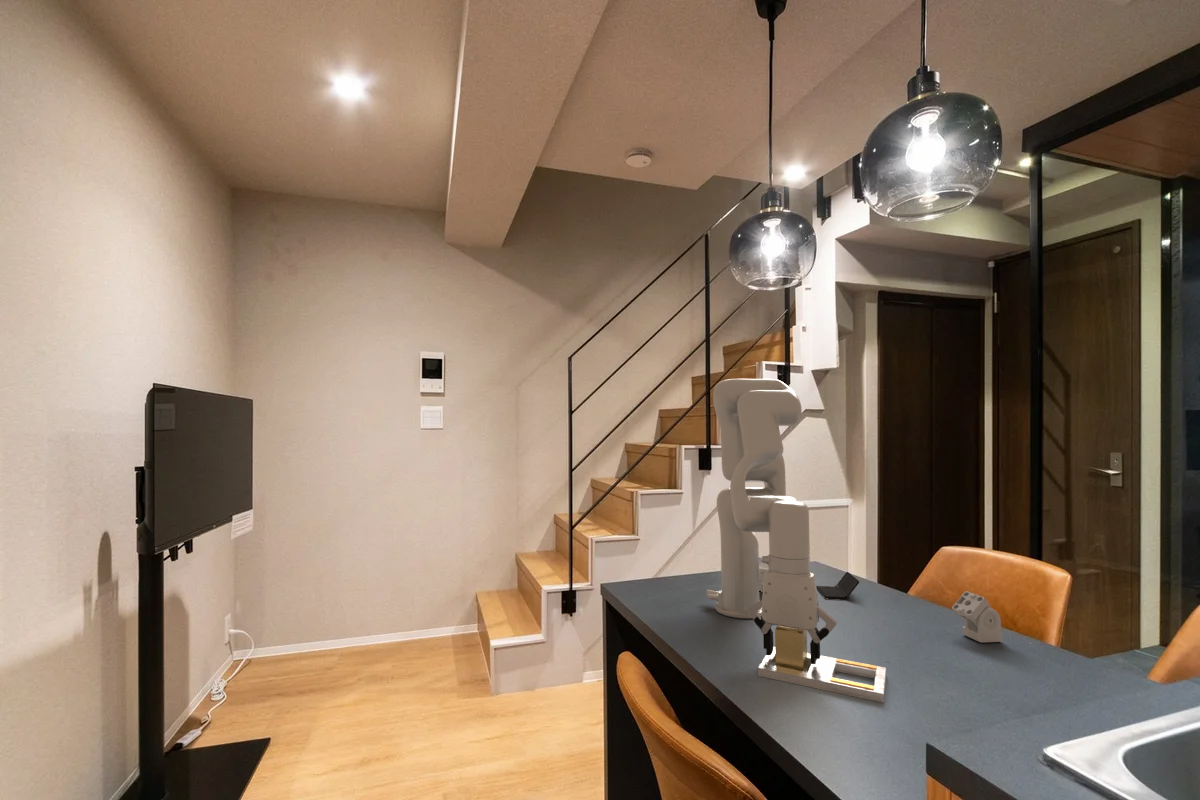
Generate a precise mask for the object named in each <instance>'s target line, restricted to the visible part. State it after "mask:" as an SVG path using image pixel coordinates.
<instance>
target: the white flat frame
mask: <svg viewBox="0 0 1200 800" xmlns="http://www.w3.org/2000/svg"><path fill="white" fill-rule="evenodd" d="M807 667H809V669H808V671H806V672H804V671H799V670H794V669H789V668H784V667H779V666H776V657H775V646H773V652H772V654H771V655H770V656H768V655H766V654H765V655H764V658H763V659H762V661H761V663H760V664H759V665H758V667H757V676H758V677H761V678H766V679H772V680H776V681H780V682H785V683H791V684H795V685H799V686H803V687H808V688H813V689H818V690H822V691H827V692H832V693H837V694H840V695H846V696H850V697H853V698H854V697H855V698H859V699H864V700H869V701H873V702H876V703H883V704H884V702H885V695H886V694H885V692H886V681H887V668H886V667H884V666H878V665H873V664H868V663H863V662H858V661H853V660H849V659H848V660H847V659H842V658H836V657H832V656H826V655H821V654H820V659H817V661H816V663H815V665H814V664H812V663H811V656H810V653H809V652H807ZM836 672H840V673H843V674H849V675H853V676H860V677H864V678H869V679H874V685H873V684H872V685H871V684H868V683H862V682H856V681H853V680H847V679H843V678H842V679H841V678H837V677H835V675H836Z"/></svg>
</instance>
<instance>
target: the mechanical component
mask: <svg viewBox="0 0 1200 800" xmlns="http://www.w3.org/2000/svg"><path fill="white" fill-rule="evenodd" d="M951 609H952V610H953V611H954V612H955V613H956V614H957V615H958V616H959V617H960V618H961V619H962V620H963V621H964V623H965V624H964V626H963V625H962V635H964V636H966V637H968V638H970V639H973V640H975V641H977V642H979V643H1002V642H1003V634H1002V619H1001V616H1000V614H999V612H998V611H997V610H995V609H994V608H992V607H991V606H990V604H989V601H988V600H987V599H986V597H984V596H982V595H979V594H977V593H973V592H970V591H968V590H966V591H964V592H963V593H962V594H961V596H960V597H959V598H958V600H957V601H956V602H955V603H954V604H953V605H952V606H951Z"/></svg>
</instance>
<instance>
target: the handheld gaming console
mask: <svg viewBox="0 0 1200 800" xmlns="http://www.w3.org/2000/svg"><path fill="white" fill-rule="evenodd" d="M859 584H860V581H859V580H858V579H857V578H856V577H855V576H854V575H852V574H851V573H850V572H849V571H846V572H845V574H844V575H843V576H842V577H841V579H840V580H839V581H838V582H837V583H836V584H835V585H834V586H830V585H826V586H825V585H816V588H817V589H818V590H819V591H820V592H819V591H818V590H817V591H818V592H819V593H820V594H822V595H823V596H824V597H825V598H828V599H827V600H835V599H842V601H848V600H849V596H850V595H851V594H852V592H853V591H854V590H855V589H856V588H857V586H858V585H859ZM822 595H821V596H822ZM823 596H822V597H823ZM824 597H823V598H824ZM825 598H824V599H825Z"/></svg>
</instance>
